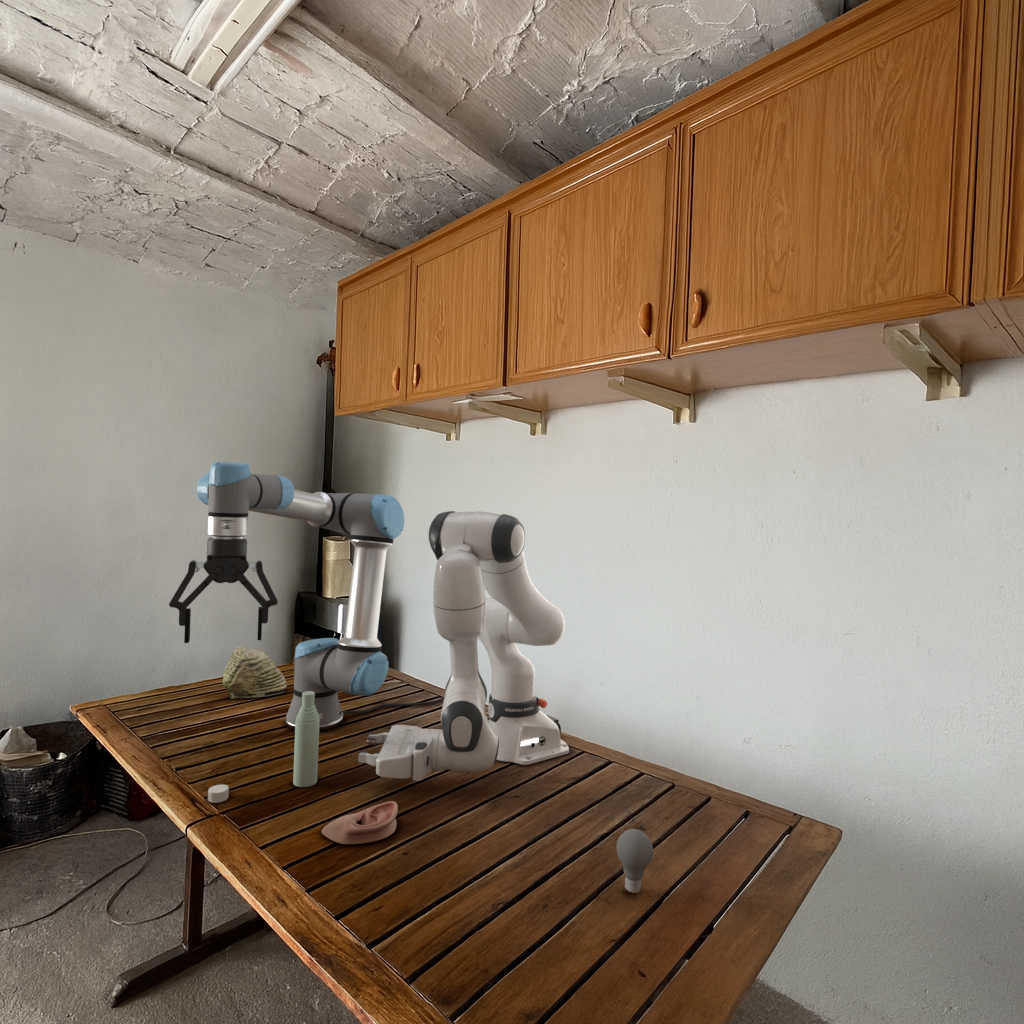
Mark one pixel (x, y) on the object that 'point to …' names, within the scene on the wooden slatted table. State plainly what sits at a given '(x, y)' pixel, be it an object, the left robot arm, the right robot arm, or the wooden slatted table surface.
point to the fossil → (252, 674)
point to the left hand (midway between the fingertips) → (223, 640)
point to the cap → (218, 793)
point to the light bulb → (634, 857)
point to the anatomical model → (364, 825)
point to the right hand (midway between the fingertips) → (363, 747)
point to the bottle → (306, 742)
